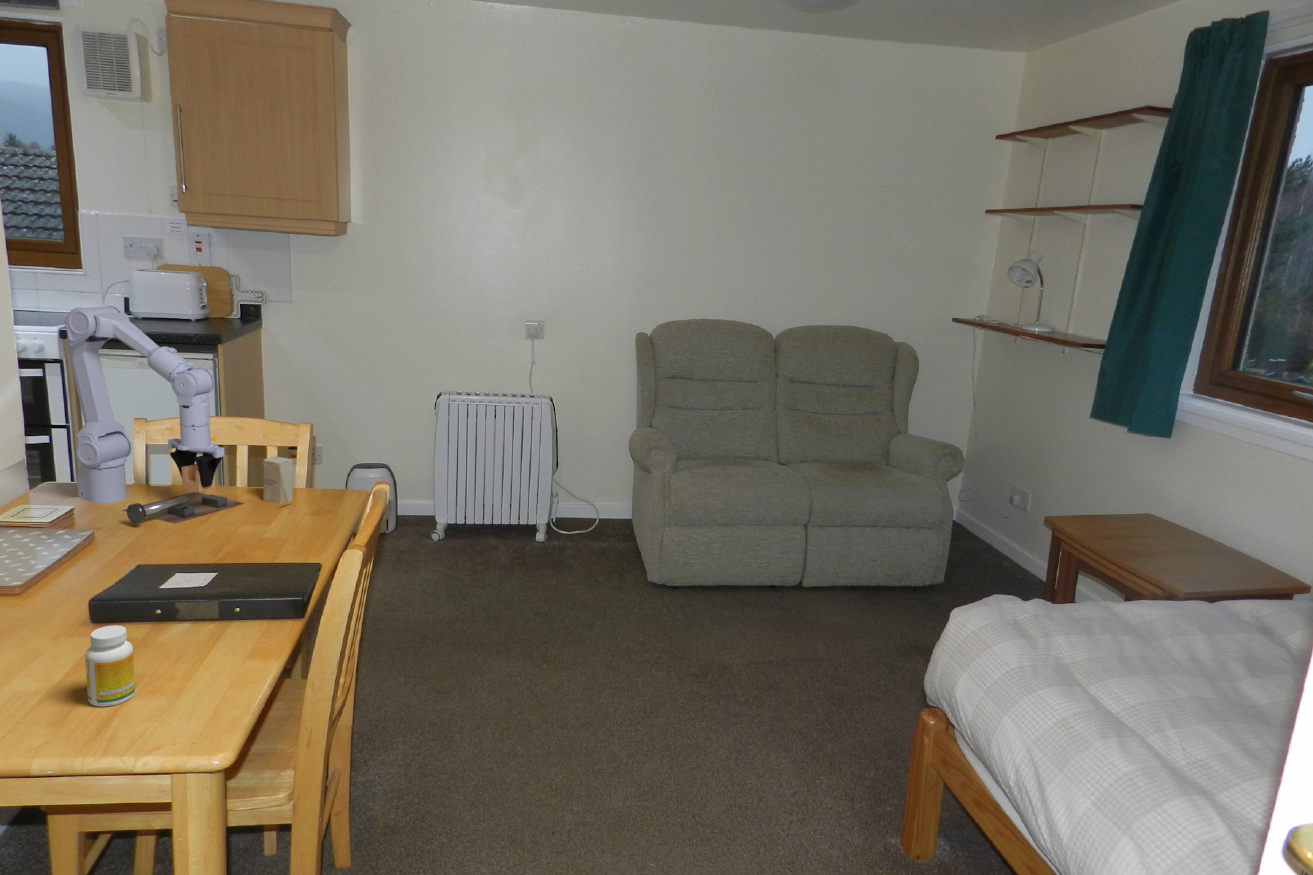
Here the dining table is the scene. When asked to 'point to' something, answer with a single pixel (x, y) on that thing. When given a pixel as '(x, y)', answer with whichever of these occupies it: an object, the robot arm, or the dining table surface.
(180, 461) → the robot arm
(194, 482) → the bracket
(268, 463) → the box
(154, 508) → the shaft
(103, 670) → the supplement bottle
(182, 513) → the supports
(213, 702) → the dining table surface
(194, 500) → the board
